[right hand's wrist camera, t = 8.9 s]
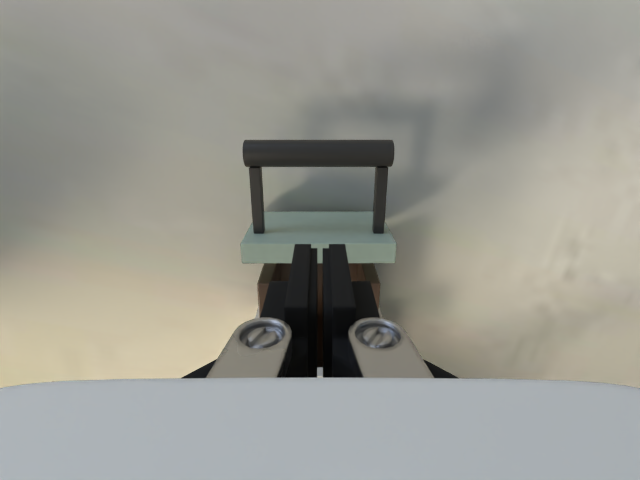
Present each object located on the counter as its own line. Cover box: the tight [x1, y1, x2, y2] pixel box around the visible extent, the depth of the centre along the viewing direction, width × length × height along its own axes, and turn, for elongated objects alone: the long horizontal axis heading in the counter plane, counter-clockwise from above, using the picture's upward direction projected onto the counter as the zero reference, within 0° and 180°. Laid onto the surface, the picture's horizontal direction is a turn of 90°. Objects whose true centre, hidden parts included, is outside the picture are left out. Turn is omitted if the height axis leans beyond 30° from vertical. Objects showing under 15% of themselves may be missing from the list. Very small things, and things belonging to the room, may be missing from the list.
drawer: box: [241, 140, 397, 367], centre depth 24 cm, size 18×8×6 cm, turn 0°
